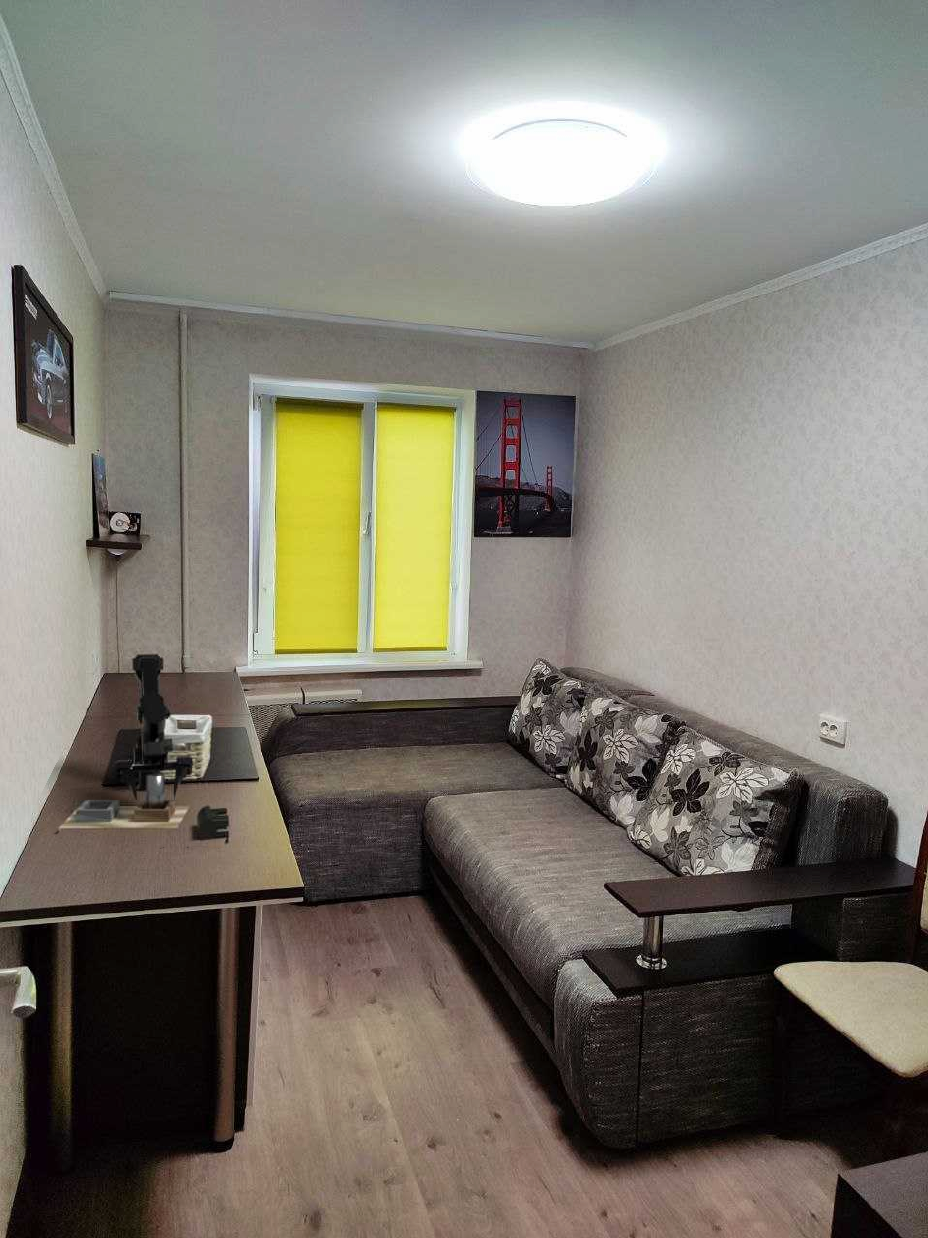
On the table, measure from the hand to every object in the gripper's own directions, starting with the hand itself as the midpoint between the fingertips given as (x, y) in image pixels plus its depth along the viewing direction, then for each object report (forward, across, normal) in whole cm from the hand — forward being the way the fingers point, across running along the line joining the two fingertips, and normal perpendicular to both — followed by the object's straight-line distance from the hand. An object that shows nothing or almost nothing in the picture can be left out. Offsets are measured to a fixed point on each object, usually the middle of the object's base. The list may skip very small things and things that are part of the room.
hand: (155, 797), depth 225 cm
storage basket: (-28, +10, +38) cm, 49 cm away
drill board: (+3, -7, +7) cm, 10 cm away
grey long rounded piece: (+3, 0, +5) cm, 6 cm away
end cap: (+15, +13, -4) cm, 20 cm away
